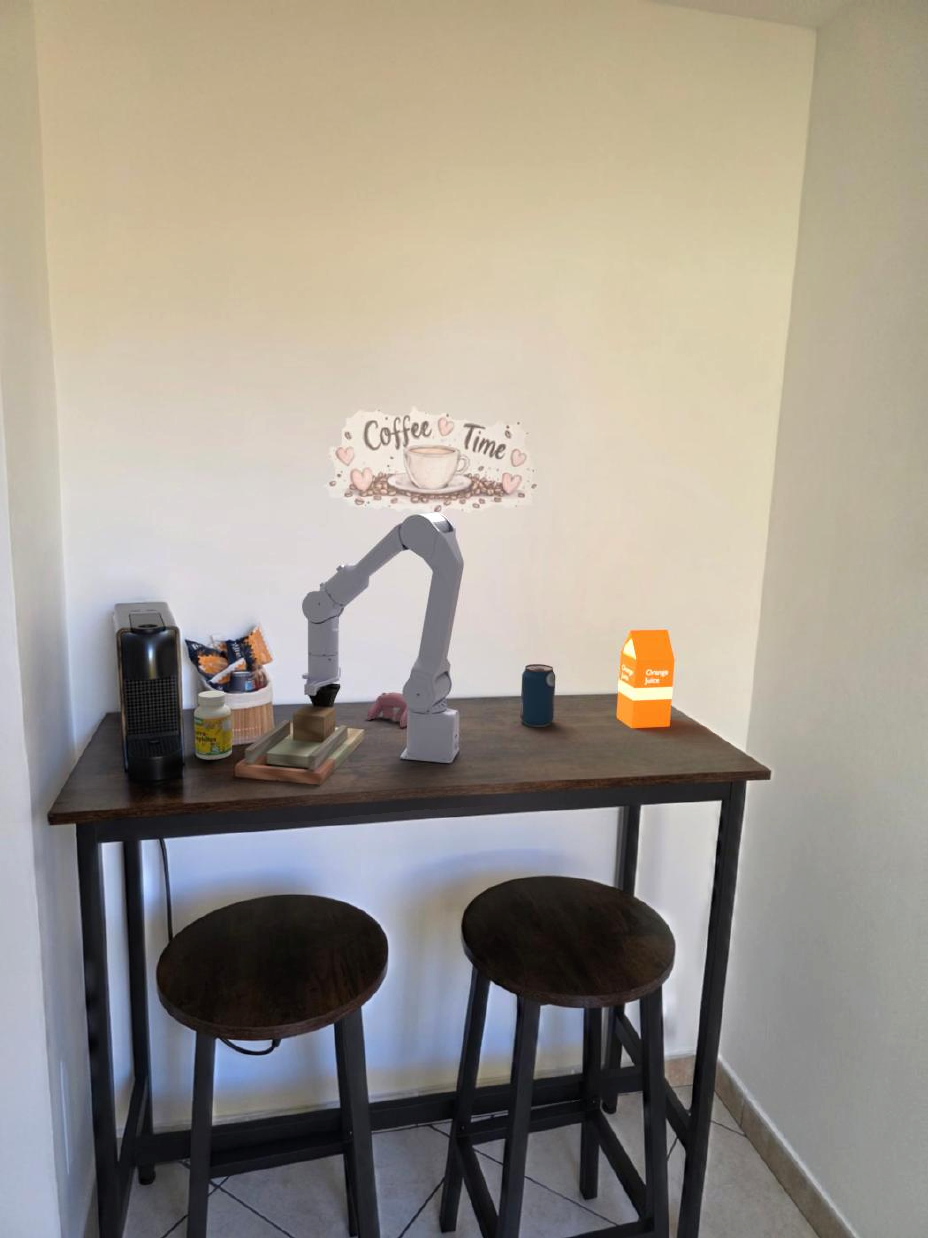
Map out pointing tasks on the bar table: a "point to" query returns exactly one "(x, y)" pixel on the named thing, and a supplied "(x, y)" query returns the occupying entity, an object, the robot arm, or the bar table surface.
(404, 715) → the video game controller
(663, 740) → the bar table surface
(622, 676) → the orange juice
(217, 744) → the supplement bottle
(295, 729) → the walnut block
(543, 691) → the soda can
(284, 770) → the channel deck
